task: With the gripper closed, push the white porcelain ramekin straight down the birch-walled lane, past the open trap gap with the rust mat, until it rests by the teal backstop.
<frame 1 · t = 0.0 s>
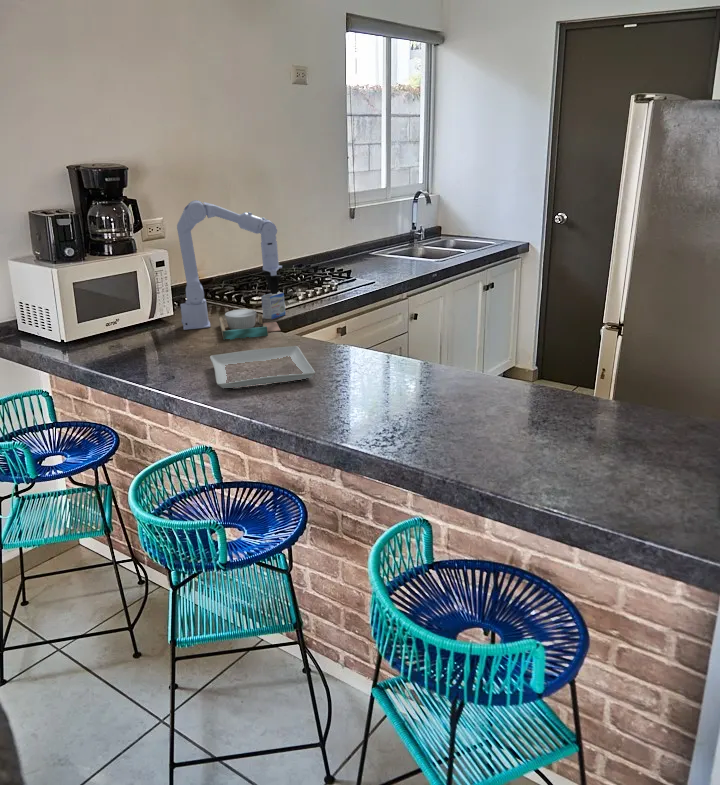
hand: (273, 291, 260), 10 cm above the worktop, fingers open, 7 cm apart
square plate: (261, 375, 206), on the worktop
medicine box: (274, 317, 267), on the worktop
ramekin: (242, 327, 255), on the worktop
lane: (243, 330, 250), on the worktop
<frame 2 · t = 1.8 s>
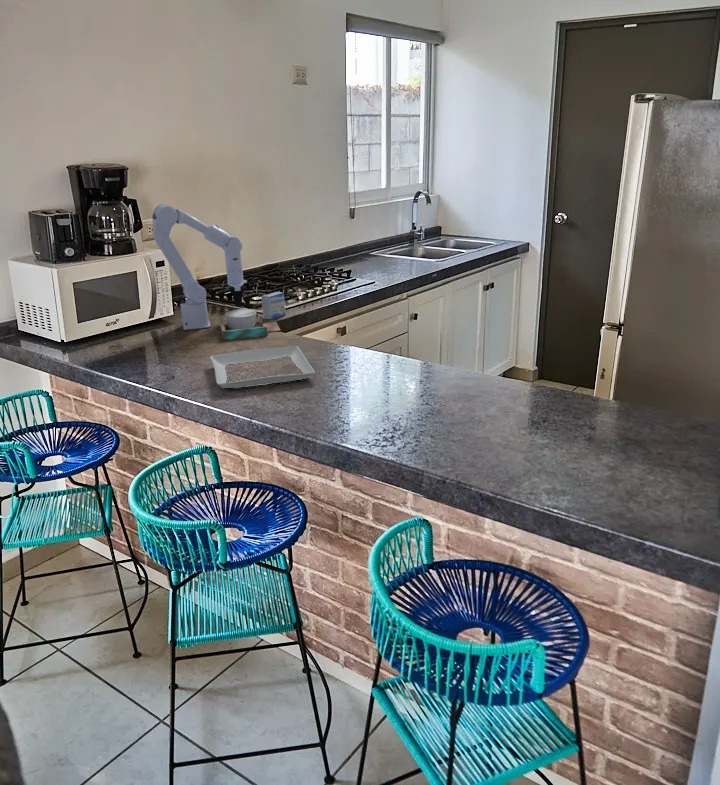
hand: (238, 306, 263), 5 cm above the worktop, fingers closed
nothing on the worktop moved.
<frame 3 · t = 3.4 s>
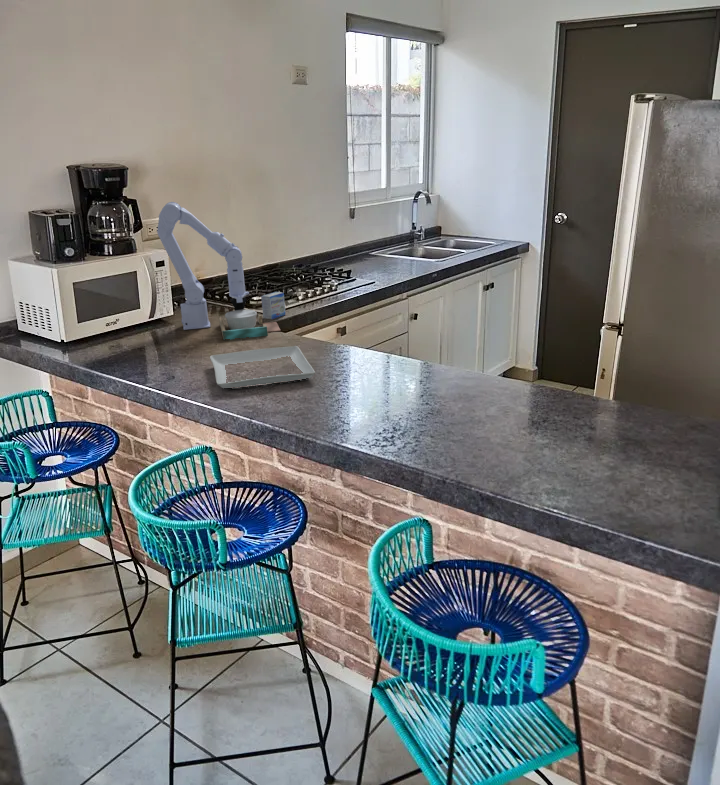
hand: (240, 317, 259), 2 cm above the worktop, fingers closed
ramekin: (242, 328, 254), on the worktop, touching gripper
everything else where it was.
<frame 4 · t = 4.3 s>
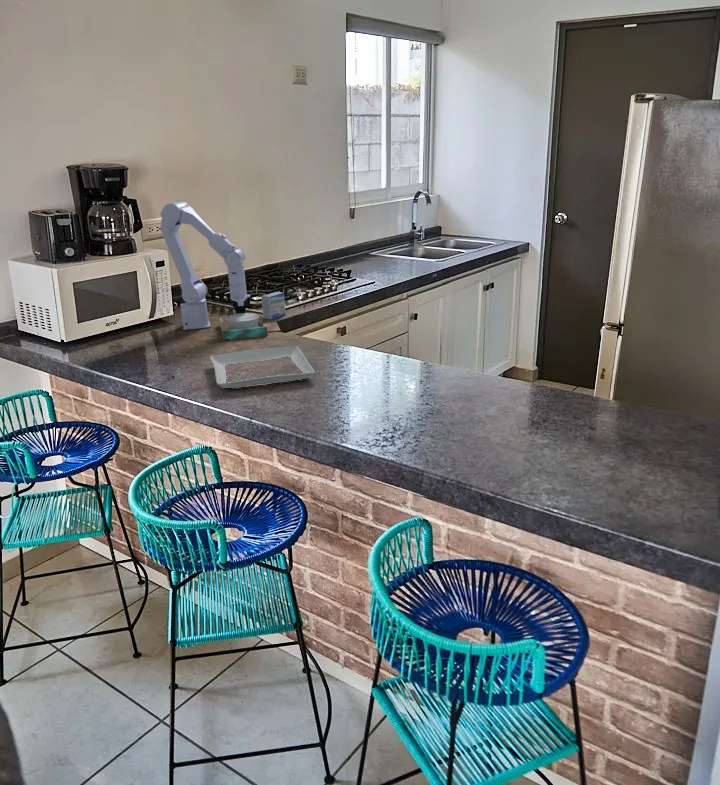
hand: (241, 321, 255), 2 cm above the worktop, fingers closed
ramekin: (244, 331, 249), on the worktop, touching gripper
everything else where it was.
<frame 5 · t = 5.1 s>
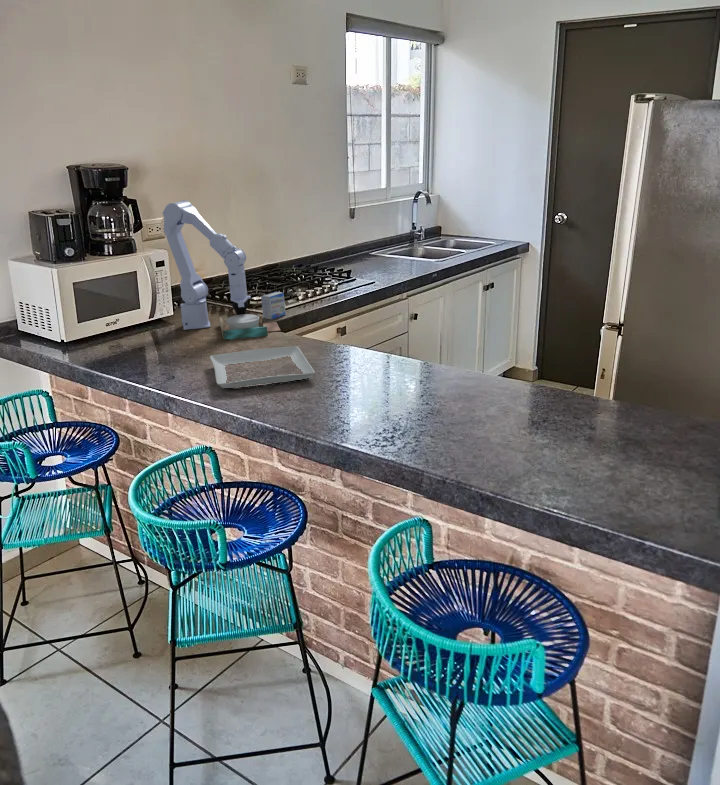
hand: (241, 322, 253), 2 cm above the worktop, fingers closed
ramekin: (244, 333, 247), on the worktop, touching gripper
everything else where it was.
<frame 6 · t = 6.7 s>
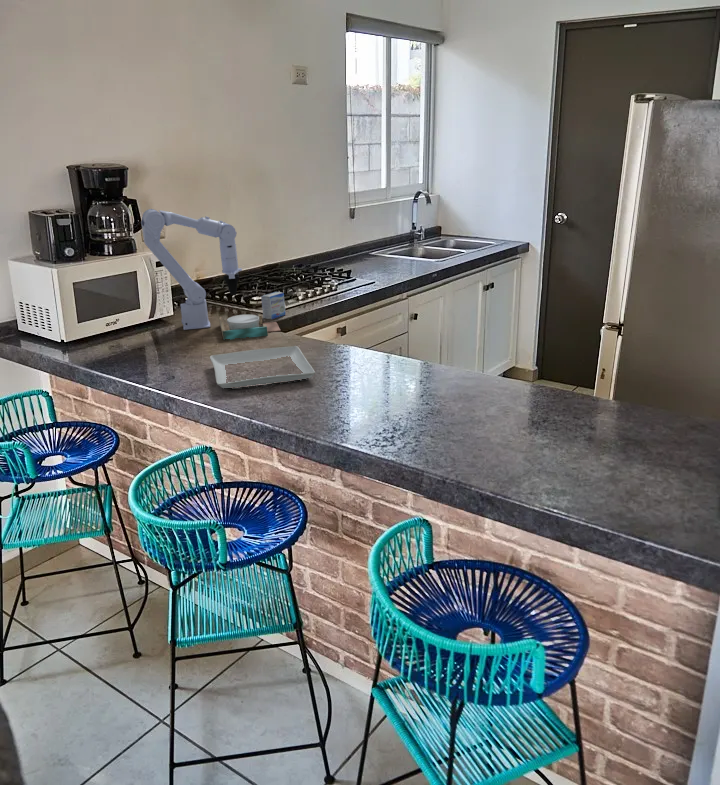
hand: (233, 294, 260), 10 cm above the worktop, fingers closed
ramekin: (244, 333, 247), on the worktop
everything else where it was.
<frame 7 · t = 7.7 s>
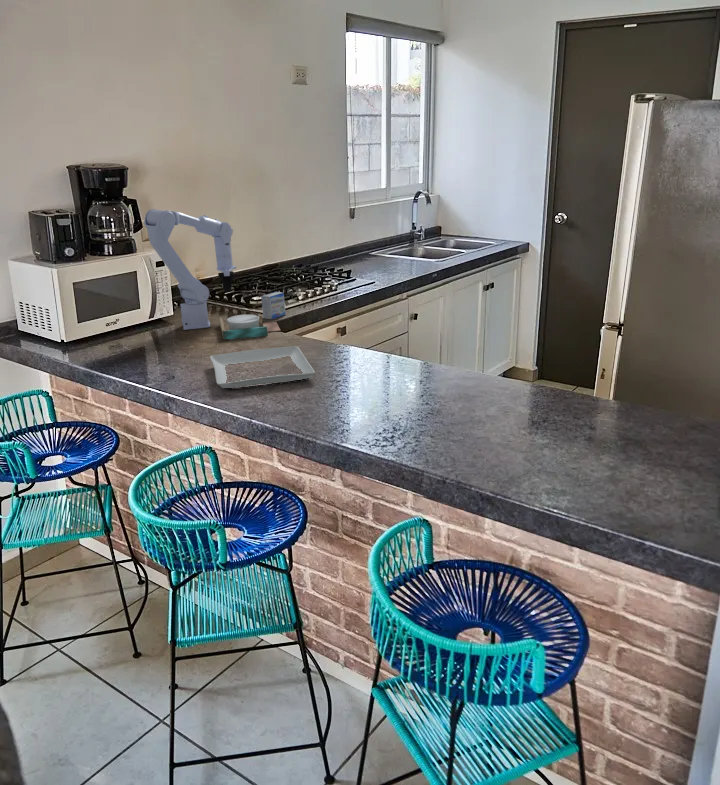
hand: (227, 291, 264), 10 cm above the worktop, fingers closed
nothing on the worktop moved.
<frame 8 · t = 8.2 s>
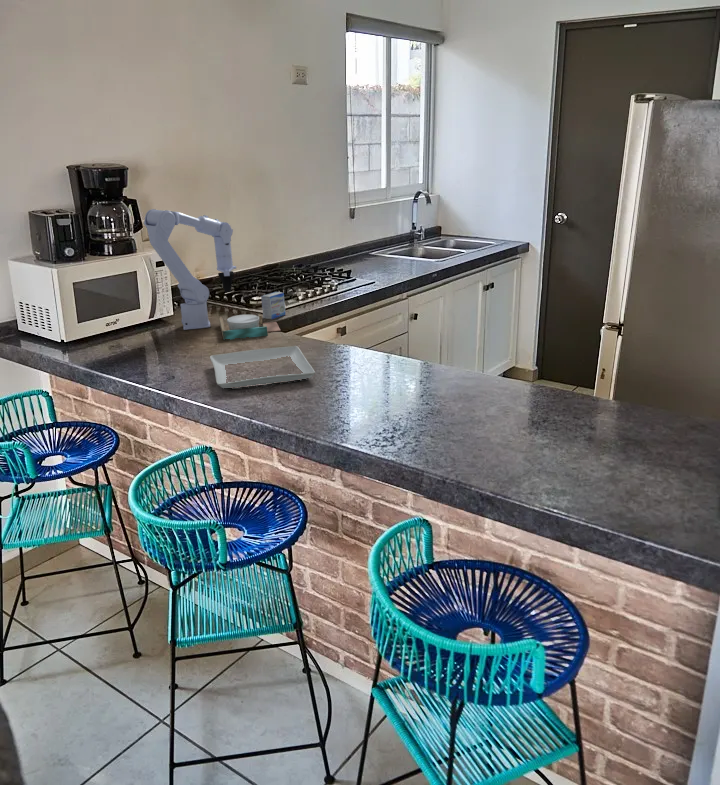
hand: (227, 291, 264), 10 cm above the worktop, fingers closed
nothing on the worktop moved.
at the end: ramekin inside the target area (0.4 cm from its centre), on the worktop; ramekin tilted 0°; ramekin moved 8.4 cm from its start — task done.
